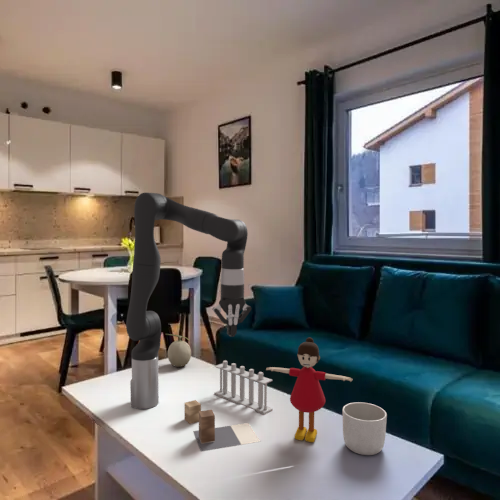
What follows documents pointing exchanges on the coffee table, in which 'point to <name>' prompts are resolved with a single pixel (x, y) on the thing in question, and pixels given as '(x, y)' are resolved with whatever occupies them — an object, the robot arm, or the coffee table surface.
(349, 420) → the planter
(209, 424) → the walnut block
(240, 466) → the coffee table surface
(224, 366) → the test tube rack
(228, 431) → the mat
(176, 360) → the fruit
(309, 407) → the toy
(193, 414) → the oak block
